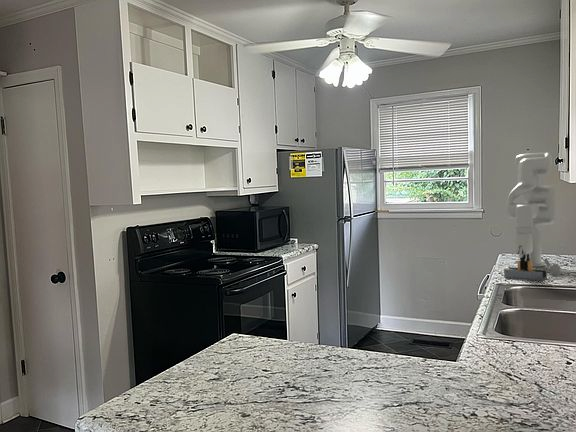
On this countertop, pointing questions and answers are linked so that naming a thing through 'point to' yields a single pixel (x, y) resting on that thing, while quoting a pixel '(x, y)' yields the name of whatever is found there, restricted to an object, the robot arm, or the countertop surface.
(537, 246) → the robot arm
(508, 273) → the grey flat block
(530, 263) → the clip
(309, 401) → the countertop surface
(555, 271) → the grey irregular flat piece
